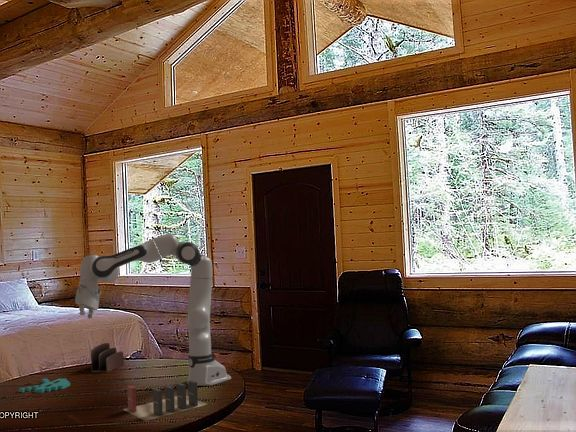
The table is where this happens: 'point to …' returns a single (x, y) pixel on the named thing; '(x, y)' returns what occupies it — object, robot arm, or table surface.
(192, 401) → the domino
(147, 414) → the birch board
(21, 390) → the alien figure
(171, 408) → the domino
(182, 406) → the domino
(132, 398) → the red domino
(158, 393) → the domino
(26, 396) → the table surface
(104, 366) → the letter holder
